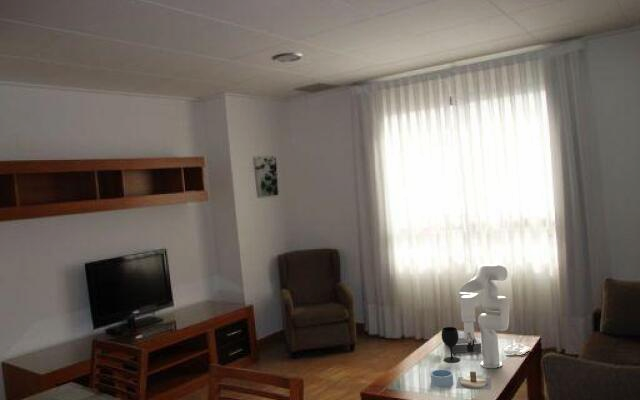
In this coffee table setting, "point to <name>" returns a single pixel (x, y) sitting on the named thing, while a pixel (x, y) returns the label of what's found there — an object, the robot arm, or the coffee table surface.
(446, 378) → the bowl
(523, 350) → the white brass knuckles
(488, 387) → the mat
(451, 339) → the wine glass
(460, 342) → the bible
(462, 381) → the lid
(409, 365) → the coffee table surface
